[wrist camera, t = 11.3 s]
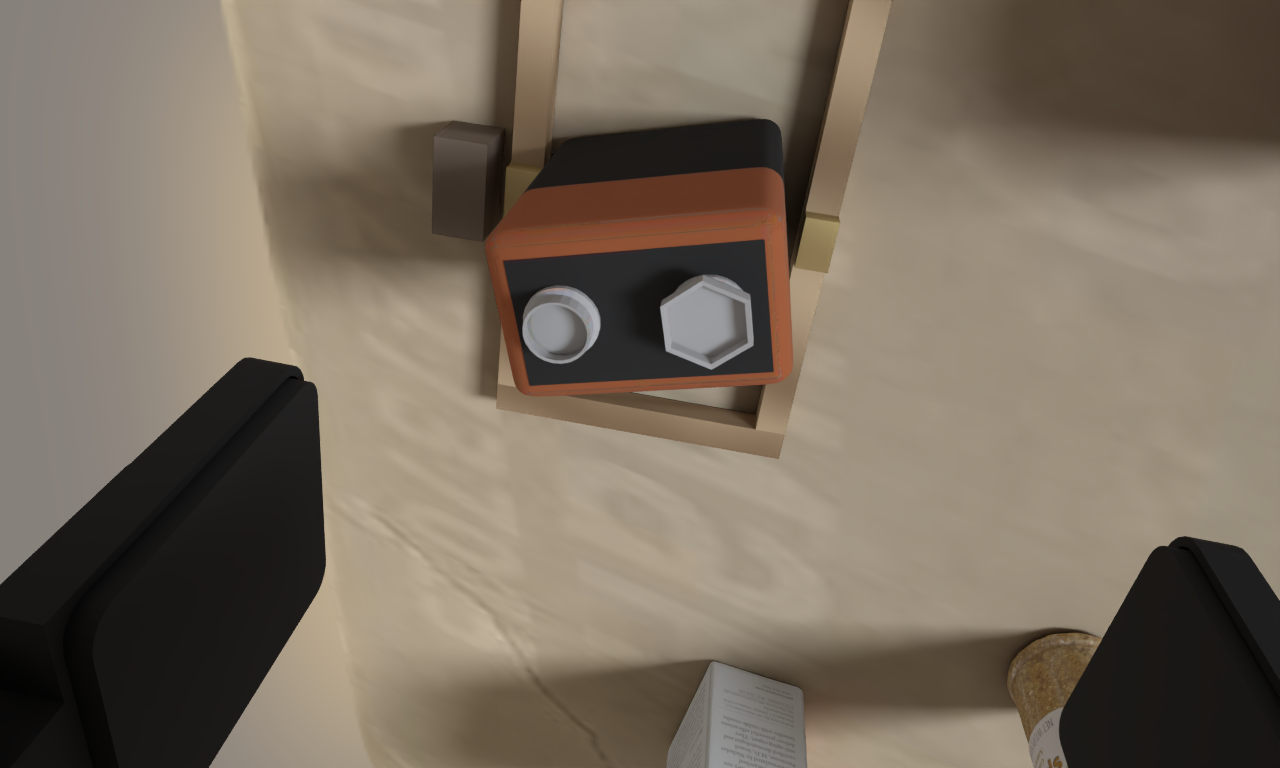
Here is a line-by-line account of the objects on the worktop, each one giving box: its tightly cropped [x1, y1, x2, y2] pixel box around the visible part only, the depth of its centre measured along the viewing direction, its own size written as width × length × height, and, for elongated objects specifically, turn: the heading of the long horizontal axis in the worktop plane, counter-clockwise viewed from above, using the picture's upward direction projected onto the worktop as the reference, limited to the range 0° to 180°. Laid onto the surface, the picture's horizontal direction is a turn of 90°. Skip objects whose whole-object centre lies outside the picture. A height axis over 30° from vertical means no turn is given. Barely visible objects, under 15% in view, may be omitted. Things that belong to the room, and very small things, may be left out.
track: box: [432, 0, 892, 459], centre depth 27 cm, size 21×12×2 cm, turn 173°
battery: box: [485, 119, 793, 397], centre depth 24 cm, size 4×7×10 cm, turn 97°
